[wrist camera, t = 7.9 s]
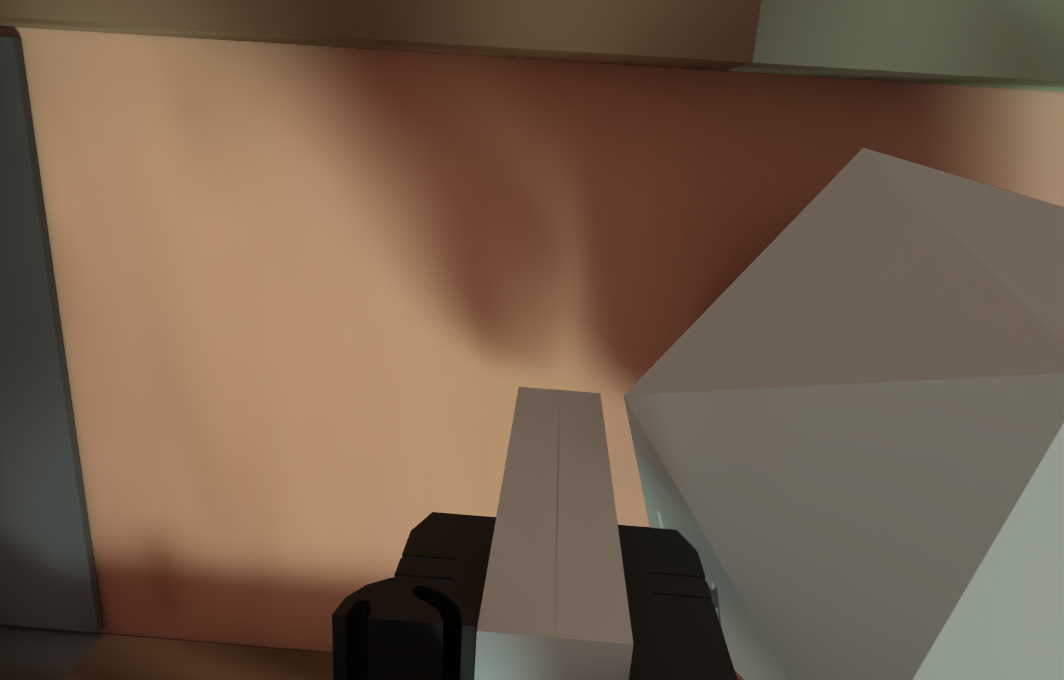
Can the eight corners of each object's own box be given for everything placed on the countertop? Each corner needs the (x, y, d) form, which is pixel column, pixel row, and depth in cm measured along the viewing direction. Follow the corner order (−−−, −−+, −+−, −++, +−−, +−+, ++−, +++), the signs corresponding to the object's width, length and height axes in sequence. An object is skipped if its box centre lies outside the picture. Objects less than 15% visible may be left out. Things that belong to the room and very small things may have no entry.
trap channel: (-61, 667, 18) (-177, 769, 16) (-228, -75, 13) (-446, -128, 10) (1459, 799, 17) (1635, 932, 15) (1896, 50, 12) (2298, 29, 10)
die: (720, 81, 14) (430, 441, 8) (1380, 59, 10) (1932, 876, 3) (740, 395, 19) (574, 762, 13) (1176, 478, 15) (1241, 1106, 8)
